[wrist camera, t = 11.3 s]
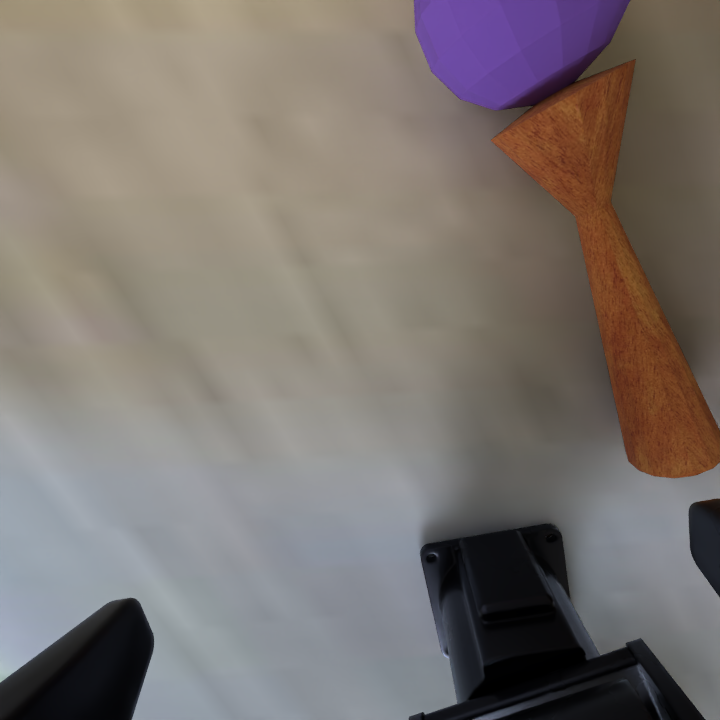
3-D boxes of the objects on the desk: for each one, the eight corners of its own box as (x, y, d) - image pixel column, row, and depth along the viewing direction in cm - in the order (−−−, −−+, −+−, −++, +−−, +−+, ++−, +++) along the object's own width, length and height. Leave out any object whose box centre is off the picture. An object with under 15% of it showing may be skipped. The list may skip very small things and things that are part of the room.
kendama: (622, 522, 16) (363, -116, 10) (575, 431, 21) (390, -16, 15) (823, 474, 14) (647, -354, 8) (714, 388, 19) (562, -143, 13)
